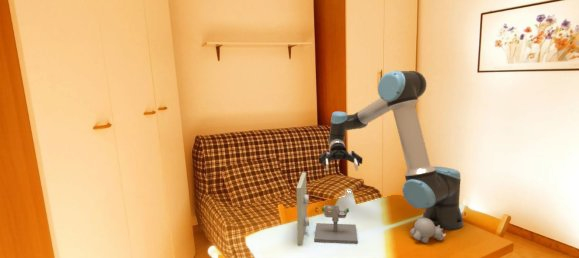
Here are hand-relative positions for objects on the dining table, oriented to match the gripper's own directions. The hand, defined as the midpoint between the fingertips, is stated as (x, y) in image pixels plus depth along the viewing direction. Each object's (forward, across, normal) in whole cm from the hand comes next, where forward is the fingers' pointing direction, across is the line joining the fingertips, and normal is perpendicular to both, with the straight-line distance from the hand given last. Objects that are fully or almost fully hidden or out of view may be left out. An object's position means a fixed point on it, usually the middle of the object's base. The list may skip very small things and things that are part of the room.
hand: (342, 167), depth 138 cm
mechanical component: (+12, +3, -22) cm, 25 cm away
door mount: (+12, +6, -23) cm, 27 cm away
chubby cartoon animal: (+17, -31, -22) cm, 42 cm away
